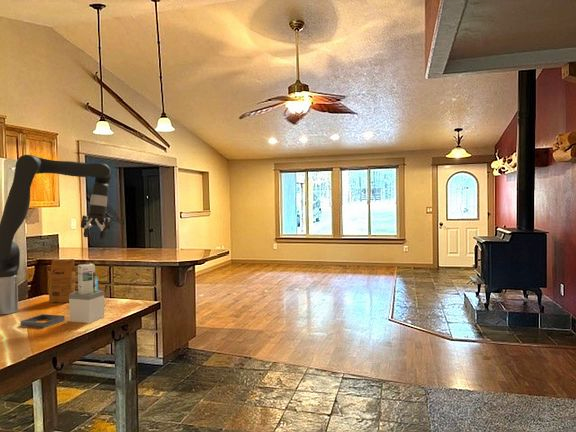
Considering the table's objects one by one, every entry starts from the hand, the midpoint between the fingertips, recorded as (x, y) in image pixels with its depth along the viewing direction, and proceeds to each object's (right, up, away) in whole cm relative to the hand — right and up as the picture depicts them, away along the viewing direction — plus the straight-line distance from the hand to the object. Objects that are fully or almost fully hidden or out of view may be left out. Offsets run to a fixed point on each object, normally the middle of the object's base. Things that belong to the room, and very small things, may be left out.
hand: (93, 238), depth 205 cm
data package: (-10, -34, +18) cm, 40 cm away
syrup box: (+4, -25, -16) cm, 30 cm away
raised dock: (+4, -35, -16) cm, 39 cm away
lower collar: (-12, -35, -22) cm, 43 cm away
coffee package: (-25, -34, +18) cm, 45 cm away
